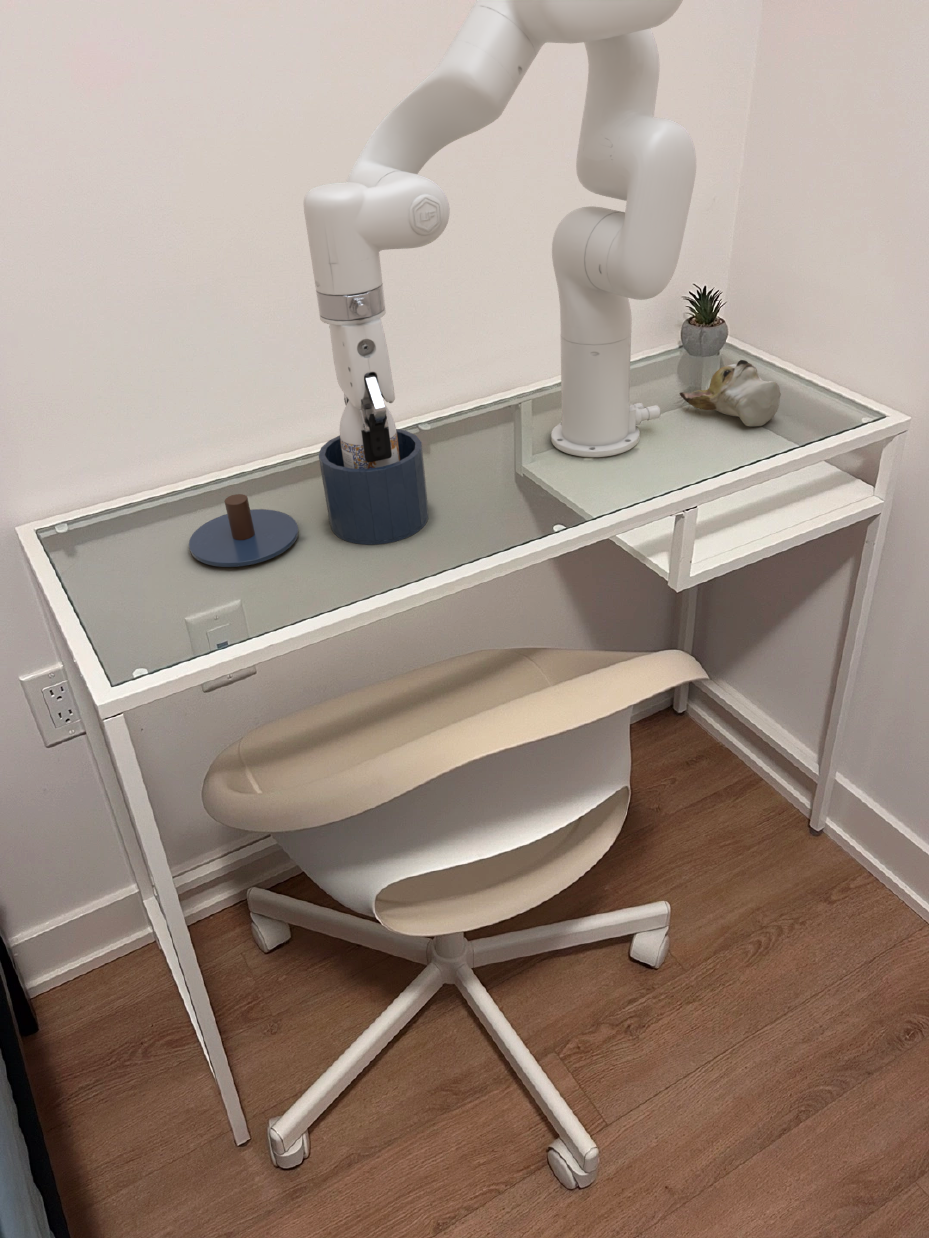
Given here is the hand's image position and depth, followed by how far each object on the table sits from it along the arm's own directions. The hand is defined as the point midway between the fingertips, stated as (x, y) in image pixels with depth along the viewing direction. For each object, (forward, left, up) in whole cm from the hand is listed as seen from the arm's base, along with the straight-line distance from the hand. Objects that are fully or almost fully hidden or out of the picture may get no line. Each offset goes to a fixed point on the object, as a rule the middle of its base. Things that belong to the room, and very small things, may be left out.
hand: (370, 446), depth 124 cm
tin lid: (+17, -2, -10) cm, 20 cm away
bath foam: (0, 0, -10) cm, 10 cm away
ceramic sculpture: (-57, -7, -10) cm, 58 cm away
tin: (0, 0, -10) cm, 10 cm away
